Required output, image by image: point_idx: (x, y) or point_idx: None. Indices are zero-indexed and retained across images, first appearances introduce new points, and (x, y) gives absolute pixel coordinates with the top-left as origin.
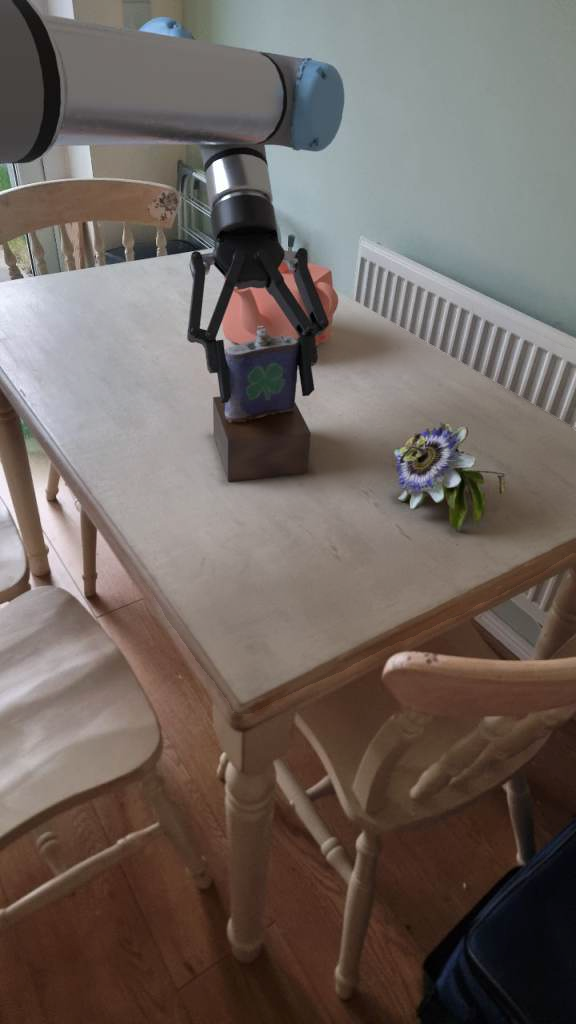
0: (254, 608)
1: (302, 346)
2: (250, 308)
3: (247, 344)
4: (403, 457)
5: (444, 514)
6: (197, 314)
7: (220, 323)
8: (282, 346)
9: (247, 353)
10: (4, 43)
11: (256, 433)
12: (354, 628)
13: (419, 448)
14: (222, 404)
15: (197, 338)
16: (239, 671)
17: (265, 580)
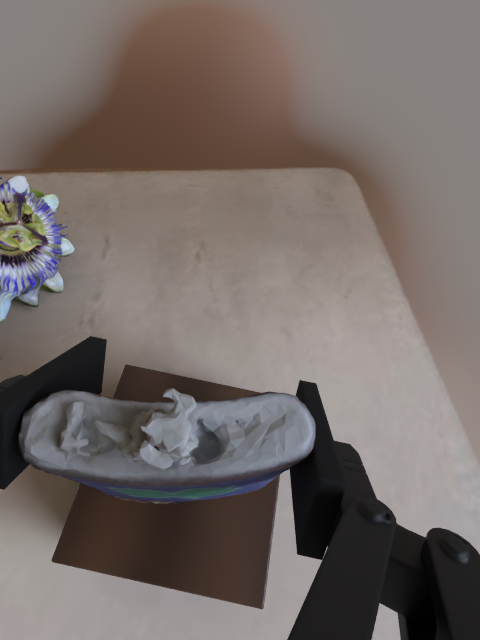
0: (313, 226)
1: (34, 388)
2: None
3: (220, 459)
4: (41, 235)
5: None
6: (470, 624)
7: (332, 544)
8: (107, 398)
9: (247, 396)
10: None
11: (227, 399)
12: (236, 180)
13: (19, 203)
14: (253, 553)
15: (420, 537)
16: (344, 185)
17: (290, 248)
